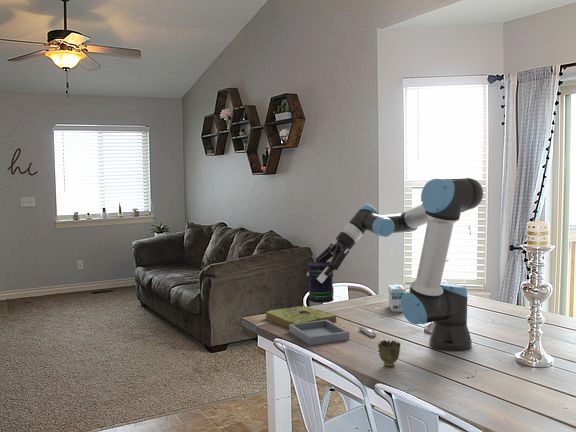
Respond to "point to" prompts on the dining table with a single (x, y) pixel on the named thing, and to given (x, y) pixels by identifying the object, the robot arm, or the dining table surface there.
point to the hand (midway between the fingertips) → (313, 278)
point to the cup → (389, 352)
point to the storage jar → (317, 289)
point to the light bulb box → (395, 297)
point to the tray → (318, 332)
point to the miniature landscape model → (298, 315)
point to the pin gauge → (367, 331)
